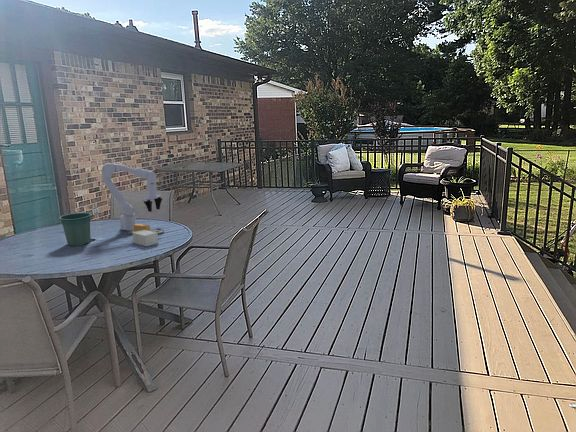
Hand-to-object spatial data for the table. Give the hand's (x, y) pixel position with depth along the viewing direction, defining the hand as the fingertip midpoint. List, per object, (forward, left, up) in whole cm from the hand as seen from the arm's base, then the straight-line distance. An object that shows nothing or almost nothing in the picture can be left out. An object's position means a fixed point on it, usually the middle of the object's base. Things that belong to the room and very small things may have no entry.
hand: (154, 210), depth 287 cm
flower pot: (-14, -48, -11) cm, 51 cm away
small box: (+17, -33, -7) cm, 38 cm away
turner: (+8, -18, -9) cm, 22 cm away
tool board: (+8, -18, -10) cm, 22 cm away
